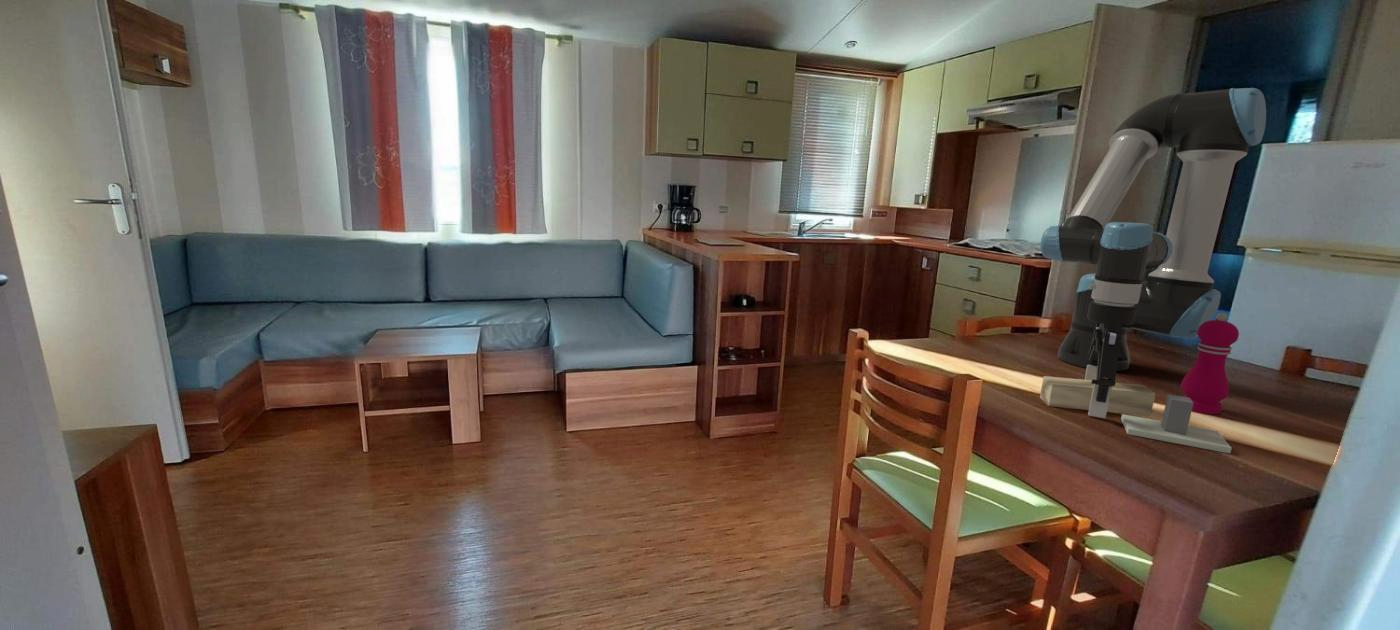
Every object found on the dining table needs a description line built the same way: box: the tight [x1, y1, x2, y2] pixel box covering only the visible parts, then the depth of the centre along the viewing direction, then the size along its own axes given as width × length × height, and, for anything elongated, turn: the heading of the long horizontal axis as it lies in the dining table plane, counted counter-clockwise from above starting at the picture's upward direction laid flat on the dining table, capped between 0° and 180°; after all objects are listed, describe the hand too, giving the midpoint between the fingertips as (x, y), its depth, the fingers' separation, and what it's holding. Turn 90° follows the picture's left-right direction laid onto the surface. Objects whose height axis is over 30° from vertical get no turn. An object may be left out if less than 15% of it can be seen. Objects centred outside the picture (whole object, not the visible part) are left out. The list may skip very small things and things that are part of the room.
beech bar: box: [1039, 375, 1156, 417], centre depth 113 cm, size 5×18×5 cm, turn 77°
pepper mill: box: [1180, 312, 1240, 415], centre depth 111 cm, size 7×7×20 cm
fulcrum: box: [1120, 394, 1233, 454], centre depth 100 cm, size 8×14×7 cm, turn 60°
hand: (1092, 405), depth 113 cm, fingers open, 13 cm apart
